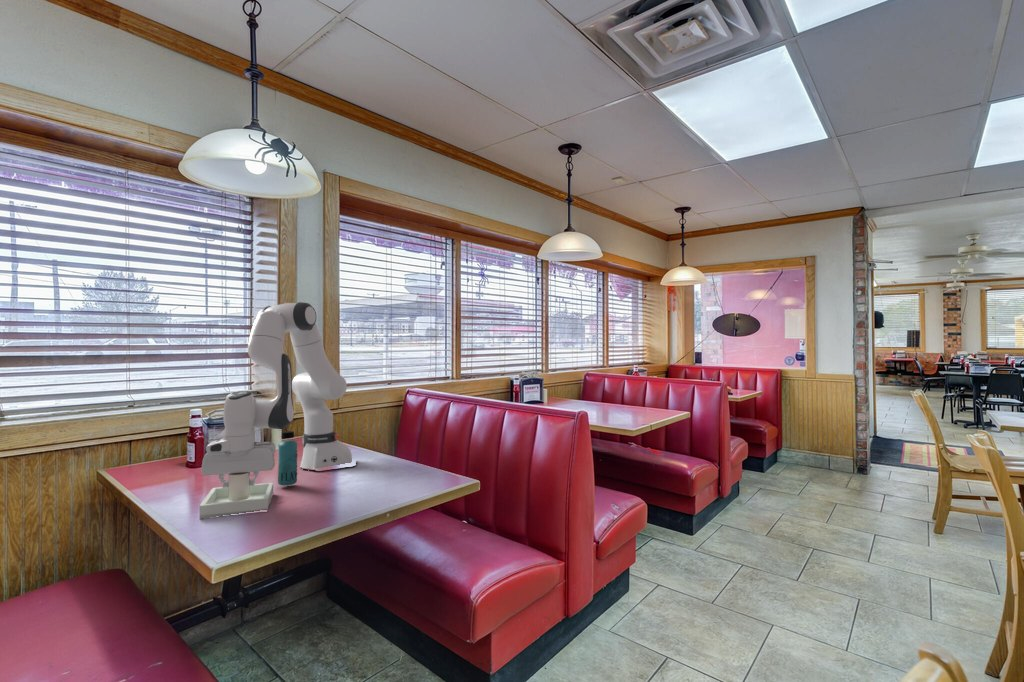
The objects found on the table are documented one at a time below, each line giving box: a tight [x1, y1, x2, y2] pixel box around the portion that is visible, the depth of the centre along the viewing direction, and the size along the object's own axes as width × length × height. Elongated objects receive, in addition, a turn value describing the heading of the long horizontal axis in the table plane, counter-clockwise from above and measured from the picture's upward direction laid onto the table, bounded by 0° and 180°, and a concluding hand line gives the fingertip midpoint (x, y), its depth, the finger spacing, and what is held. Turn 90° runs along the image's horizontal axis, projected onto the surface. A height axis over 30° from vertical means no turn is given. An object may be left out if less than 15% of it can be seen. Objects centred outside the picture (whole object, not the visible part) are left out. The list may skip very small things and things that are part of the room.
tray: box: [199, 482, 274, 520], centre depth 156 cm, size 18×18×4 cm
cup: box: [227, 472, 251, 501], centre depth 155 cm, size 6×6×8 cm
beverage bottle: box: [277, 430, 299, 487], centre depth 175 cm, size 6×7×20 cm
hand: (239, 486), depth 156 cm, fingers closed on cup, 6 cm apart
